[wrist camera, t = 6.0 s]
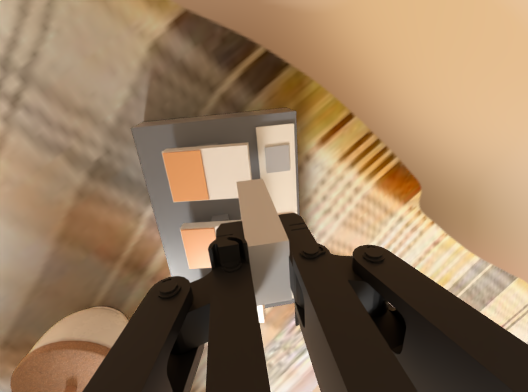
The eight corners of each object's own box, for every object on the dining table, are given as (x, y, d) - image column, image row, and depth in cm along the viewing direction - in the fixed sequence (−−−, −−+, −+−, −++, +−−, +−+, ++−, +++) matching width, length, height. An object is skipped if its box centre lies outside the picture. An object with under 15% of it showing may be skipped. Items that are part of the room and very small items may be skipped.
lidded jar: (55, 286, 31) (-8, 363, 22) (152, 296, 33) (129, 368, 25) (54, 352, 34) (-1, 440, 26) (142, 356, 37) (119, 438, 28)
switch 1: (253, 192, 23) (252, 197, 22) (177, 197, 24) (172, 203, 23) (248, 142, 22) (246, 145, 21) (166, 148, 22) (160, 152, 21)
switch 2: (260, 258, 26) (259, 266, 25) (192, 262, 26) (188, 269, 25) (256, 218, 24) (255, 225, 23) (183, 223, 25) (179, 229, 24)
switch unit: (293, 279, 36) (305, 308, 31) (187, 297, 34) (182, 331, 29) (285, 107, 27) (299, 112, 22) (143, 122, 26) (126, 130, 21)
